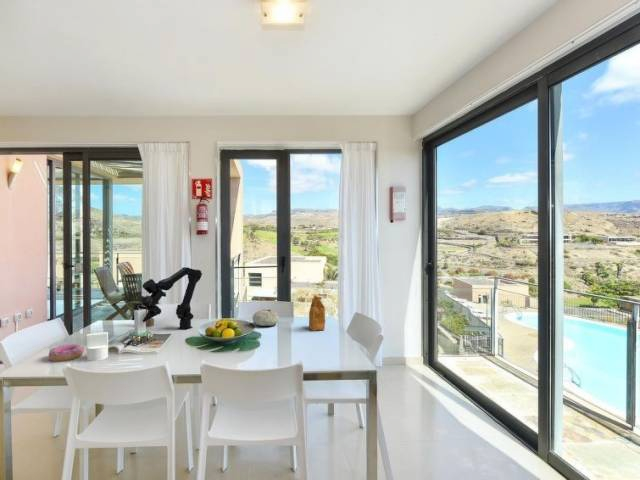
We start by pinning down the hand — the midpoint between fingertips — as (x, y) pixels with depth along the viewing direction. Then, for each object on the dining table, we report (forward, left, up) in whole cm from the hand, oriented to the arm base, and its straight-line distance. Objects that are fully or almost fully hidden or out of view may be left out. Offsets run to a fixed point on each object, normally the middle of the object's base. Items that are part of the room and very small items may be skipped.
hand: (137, 320), depth 203 cm
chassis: (-1, 0, -12) cm, 12 cm away
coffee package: (-74, +76, -12) cm, 107 cm away
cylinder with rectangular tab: (+26, +5, -12) cm, 29 cm away
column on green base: (-1, 0, -8) cm, 8 cm away
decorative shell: (-66, +41, -13) cm, 79 cm away
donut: (+32, -9, -13) cm, 36 cm away
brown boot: (-26, -28, -12) cm, 40 cm away
